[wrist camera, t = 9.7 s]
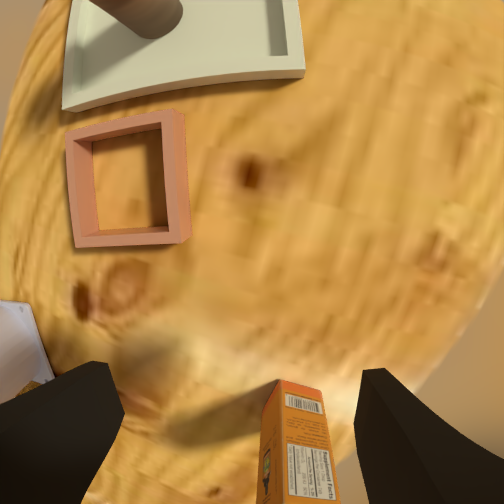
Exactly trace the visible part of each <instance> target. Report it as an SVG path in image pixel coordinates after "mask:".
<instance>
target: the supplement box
mask: <svg viewBox="0 0 504 504" xmlns="http://www.w3.org/2000/svg"><path fill="white" fill-rule="evenodd" d="M256 504H341V503H340V495H339V491H338V484H337V477H336V471H335V465H334V459H333V453H332V448H331V441H330V436H329V430H328V425H327V419H326V414H325V409H324V403H323V398H322V393H321V391H320V390H317V389H313V388H310V387H306V386H302V385H299V384H295V383H291V382H288V381H284V380H279V382H278V383H277V385H276V387H275V388H274V390H273V392H272V394H271V396H270V397H269V399H268V401H267V403H266V405H265V407H264V408H263V411H262V420H261V435H260V450H259V466H258V482H257V498H256Z"/></svg>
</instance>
